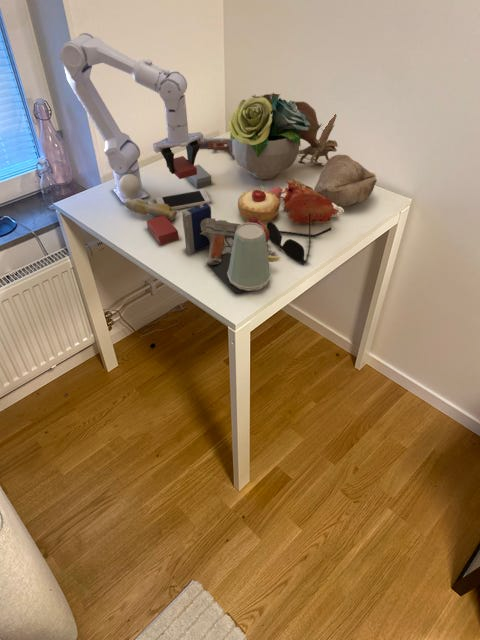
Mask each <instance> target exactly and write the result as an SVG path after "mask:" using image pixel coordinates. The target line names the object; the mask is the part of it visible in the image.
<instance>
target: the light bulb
mask: <svg viewBox="0 0 480 640" xmlns="http://www.w3.org/2000/svg"><path fill="white" fill-rule="evenodd" d="M119 186H120V189H121V191H122V192H123V194H124V196H125V199H129V198H130V199H136V195H137V193H138V191H139V189H140V182H139V180H138V178H137V177H136V176H134V175H132V174H126V175H124V176H123V177H122V178H121V179H120V182H119Z"/></svg>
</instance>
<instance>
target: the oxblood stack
mask: <svg viewBox="0 0 480 640" xmlns="http://www.w3.org/2000/svg"><path fill="white" fill-rule="evenodd" d="M146 226H147V230H148V231H149V233H150V234H151V235H152V237H153V238H154V239H155V240H156V242H157V243H158V244H159V246H162V245H166V244H169V243H172V242H176V241H179V240H180V237H179V231H178V229H177V228H176V227H175V226H174V225H173V223H172V221H169V220H168V219H167V218H166V216H165V215H164V216H160V217H154V218H151V219H147V220H146Z"/></svg>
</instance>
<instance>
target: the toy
mask: <svg viewBox="0 0 480 640" xmlns="http://www.w3.org/2000/svg"><path fill="white" fill-rule="evenodd" d="M268 246H269V244H268V243H267V247H268ZM267 252H268V254H269V256H276V257H278V255H277V254H276V251H273V252H271V250H269V249H268V248H267Z"/></svg>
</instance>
